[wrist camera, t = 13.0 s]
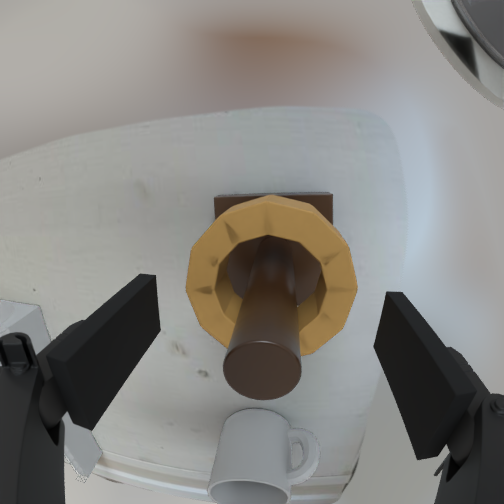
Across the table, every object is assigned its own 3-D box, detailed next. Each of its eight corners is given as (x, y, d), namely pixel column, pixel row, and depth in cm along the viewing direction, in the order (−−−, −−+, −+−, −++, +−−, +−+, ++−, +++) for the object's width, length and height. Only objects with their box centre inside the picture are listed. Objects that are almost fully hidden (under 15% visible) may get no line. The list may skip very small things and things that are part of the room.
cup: (212, 412, 28) (192, 480, 19) (307, 392, 26) (312, 468, 18) (239, 451, 30) (228, 514, 21) (325, 435, 28) (330, 502, 19)
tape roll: (373, 268, 17) (388, 288, 14) (275, 354, 19) (272, 384, 16) (269, 165, 16) (265, 165, 13) (176, 269, 18) (156, 289, 15)
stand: (329, 192, 21) (409, 242, 7) (327, 296, 23) (367, 444, 9) (218, 195, 22) (114, 247, 8) (225, 297, 24) (164, 439, 10)
